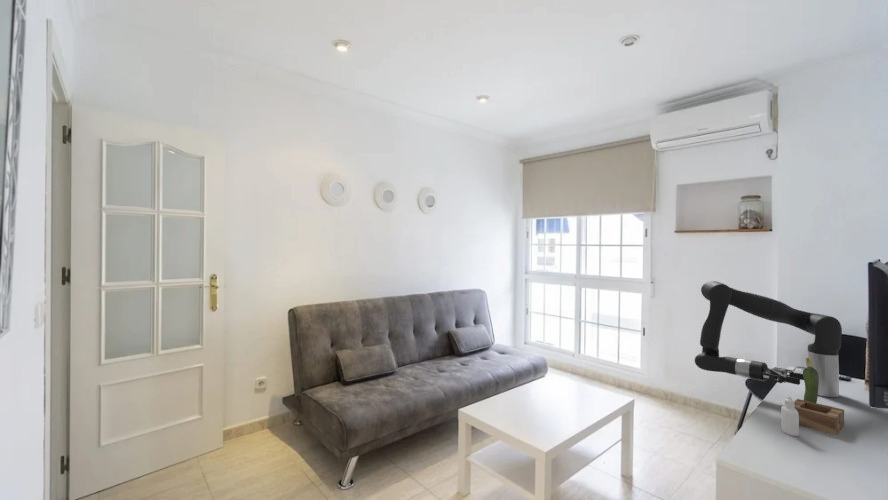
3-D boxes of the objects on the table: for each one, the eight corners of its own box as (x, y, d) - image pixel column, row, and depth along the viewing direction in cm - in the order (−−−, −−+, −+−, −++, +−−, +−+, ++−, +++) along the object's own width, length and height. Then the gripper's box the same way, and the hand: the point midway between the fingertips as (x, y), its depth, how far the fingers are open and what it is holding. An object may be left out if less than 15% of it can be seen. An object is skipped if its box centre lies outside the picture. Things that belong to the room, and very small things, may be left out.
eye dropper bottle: (799, 431, 127) (798, 395, 127) (799, 437, 123) (798, 400, 123) (781, 427, 130) (780, 392, 130) (780, 433, 126) (780, 396, 126)
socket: (797, 413, 141) (797, 398, 141) (844, 425, 131) (844, 409, 131) (787, 421, 134) (787, 406, 134) (835, 435, 124) (835, 418, 124)
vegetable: (812, 408, 146) (812, 356, 146) (822, 413, 142) (822, 359, 142) (800, 408, 146) (799, 355, 147) (809, 412, 142) (809, 358, 142)
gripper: (744, 363, 155) (797, 373, 142) (757, 357, 163) (808, 366, 150) (744, 381, 155) (797, 393, 142) (757, 375, 163) (808, 386, 150)
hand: (803, 379), depth 146 cm, fingers open, 8 cm apart
